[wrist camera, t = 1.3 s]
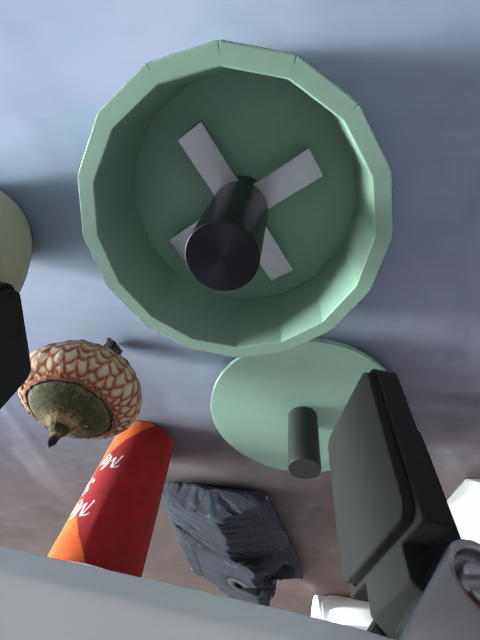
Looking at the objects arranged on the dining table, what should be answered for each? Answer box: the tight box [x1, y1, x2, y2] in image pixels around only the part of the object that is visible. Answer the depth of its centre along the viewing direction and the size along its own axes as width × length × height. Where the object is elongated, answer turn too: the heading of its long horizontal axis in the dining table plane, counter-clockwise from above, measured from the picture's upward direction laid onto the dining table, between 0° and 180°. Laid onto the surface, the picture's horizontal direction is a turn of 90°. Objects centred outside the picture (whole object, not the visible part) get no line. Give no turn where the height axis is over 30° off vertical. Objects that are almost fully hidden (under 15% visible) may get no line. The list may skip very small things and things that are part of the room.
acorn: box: [18, 338, 142, 448], centre depth 26 cm, size 8×8×10 cm
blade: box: [168, 121, 323, 291], centre depth 18 cm, size 10×10×8 cm
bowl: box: [77, 40, 393, 358], centre depth 20 cm, size 15×15×6 cm
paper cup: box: [47, 421, 173, 577], centre depth 31 cm, size 8×8×14 cm
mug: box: [311, 595, 373, 631], centre depth 47 cm, size 12×9×8 cm
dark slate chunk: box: [161, 482, 303, 606], centre depth 42 cm, size 15×22×5 cm
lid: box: [211, 338, 387, 479], centre depth 29 cm, size 16×16×6 cm
